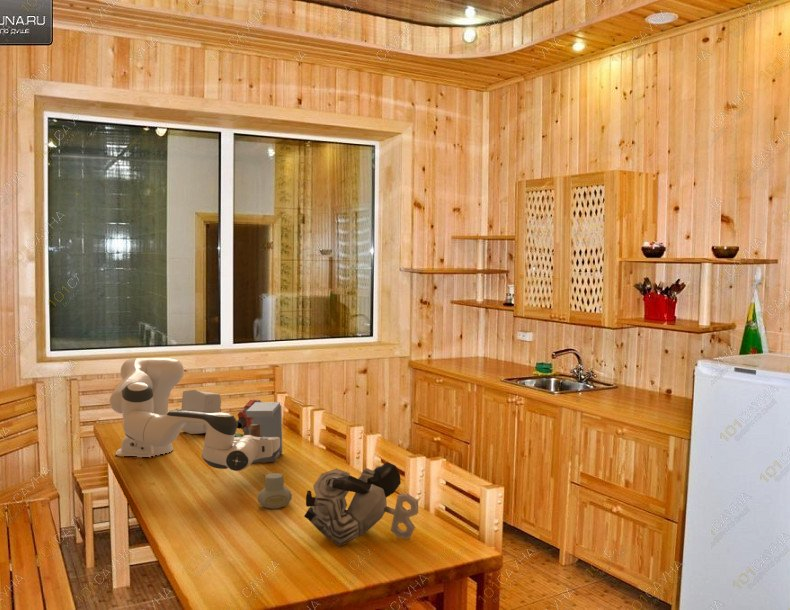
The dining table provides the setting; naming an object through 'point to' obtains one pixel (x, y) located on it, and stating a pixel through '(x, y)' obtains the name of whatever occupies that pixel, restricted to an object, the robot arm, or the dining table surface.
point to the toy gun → (246, 418)
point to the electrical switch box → (199, 407)
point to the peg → (255, 430)
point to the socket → (269, 458)
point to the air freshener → (274, 492)
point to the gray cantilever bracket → (267, 419)
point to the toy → (358, 503)
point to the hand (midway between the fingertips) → (256, 438)
